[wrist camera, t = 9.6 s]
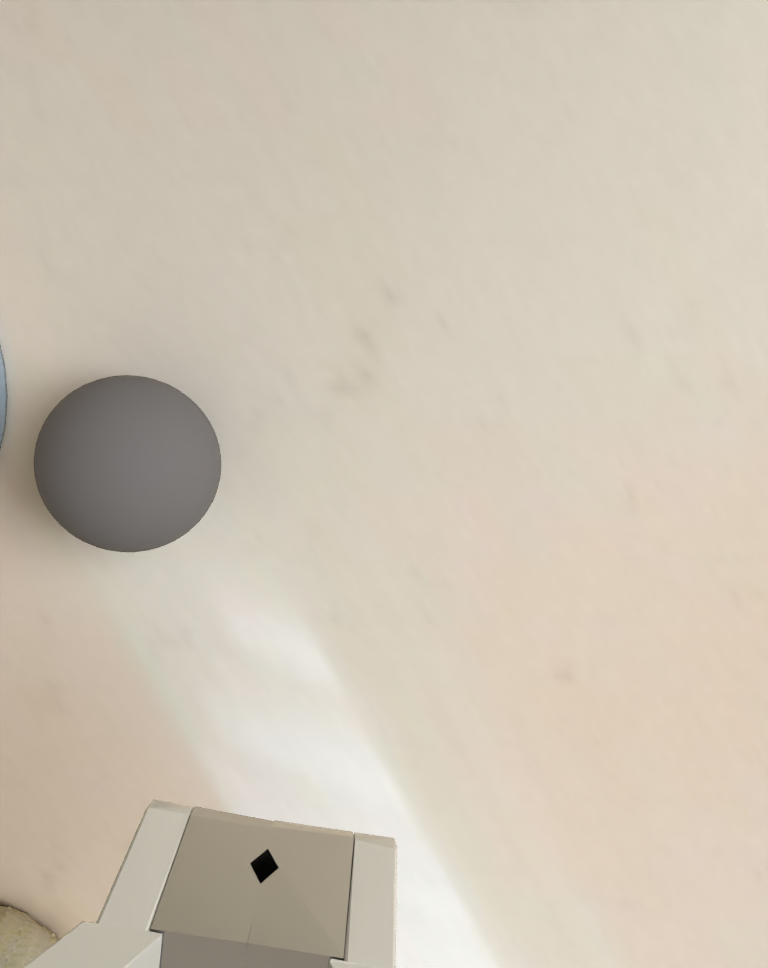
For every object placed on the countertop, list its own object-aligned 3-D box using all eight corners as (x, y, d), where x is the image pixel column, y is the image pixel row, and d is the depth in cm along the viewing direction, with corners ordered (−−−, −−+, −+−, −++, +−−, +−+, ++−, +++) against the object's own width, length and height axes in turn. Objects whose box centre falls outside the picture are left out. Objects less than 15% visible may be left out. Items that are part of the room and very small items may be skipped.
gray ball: (169, 410, 17) (252, 376, 22) (-16, 378, 18) (102, 352, 23) (166, 598, 19) (243, 529, 23) (-3, 560, 20) (104, 501, 24)
